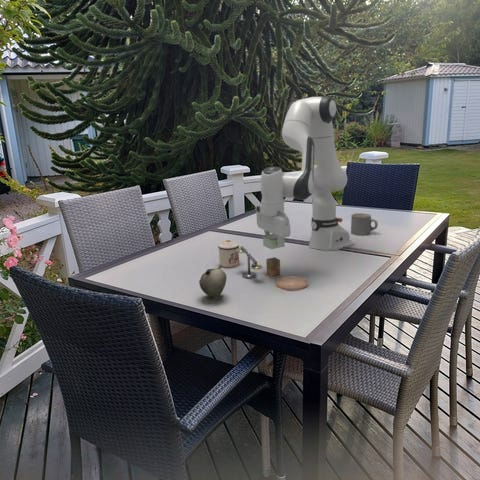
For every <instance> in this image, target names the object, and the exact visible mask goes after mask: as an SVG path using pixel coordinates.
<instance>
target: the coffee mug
mask: <svg viewBox="0 0 480 480" xmlns="http://www.w3.org/2000/svg"><path fill="white" fill-rule="evenodd" d="M350 220H351V222H350V234H351V235H353V236H358V237H366V236H370V235H371V231H374V230H377V228H378V220H377V219H375V218H372V215H371V214H369V213H366V212H363V213H362V212H356V213H355V212H354V213H352V214H351V219H350ZM372 222H373V223H374V226H372ZM369 234H370V235H369ZM365 235H366V236H365Z"/></svg>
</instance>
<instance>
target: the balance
mask: <svg viewBox="0 0 480 480" xmlns="http://www.w3.org/2000/svg"><path fill="white" fill-rule="evenodd" d="M236 252H238V253H239V254H245V255H246V257H247V271H244V272H242V273H241V277H242V278H243V279H254V278H257V276H258V275H257V272H255V271H251V269H252V270H261V269H262V268H263V266H262V265H261V264H259V263H258V261H257V260H256V259H255V258H254V256H252V254H251V253H250V252H249V251H248V249H247V248H245V247H244V246H239V249H237V250H236ZM251 261H252V263H251Z"/></svg>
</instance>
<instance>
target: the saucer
mask: <svg viewBox="0 0 480 480" xmlns="http://www.w3.org/2000/svg"><path fill="white" fill-rule="evenodd" d="M275 285H276V287H277V288H278V289H280V290H285V291H300V290H304V289H306V288H307V287H308V280H307V279H306V278H304V277H301V276H297V275H285V276H280V277H279V278H277V279H276V281H275Z"/></svg>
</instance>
